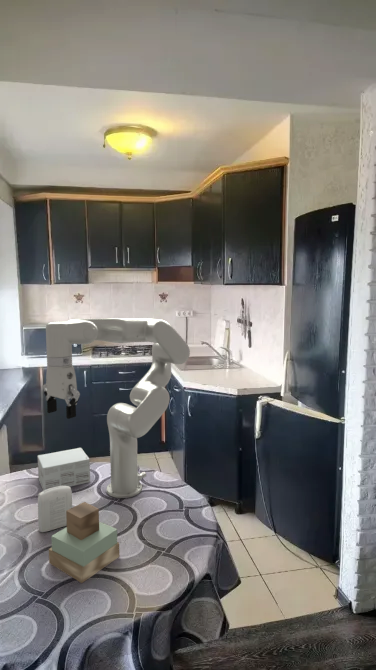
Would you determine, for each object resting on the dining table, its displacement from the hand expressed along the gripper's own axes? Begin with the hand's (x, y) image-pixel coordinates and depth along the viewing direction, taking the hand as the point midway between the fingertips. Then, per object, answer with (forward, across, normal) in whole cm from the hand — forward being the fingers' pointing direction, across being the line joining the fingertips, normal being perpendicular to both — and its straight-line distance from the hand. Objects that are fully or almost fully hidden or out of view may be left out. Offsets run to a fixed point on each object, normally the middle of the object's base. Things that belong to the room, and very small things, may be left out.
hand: (61, 414), depth 137 cm
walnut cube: (+24, -24, +12) cm, 36 cm away
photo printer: (+32, -5, +7) cm, 34 cm away
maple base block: (+33, -25, +12) cm, 43 cm away
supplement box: (+33, +19, -14) cm, 40 cm away
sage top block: (+28, -25, +12) cm, 40 cm away
